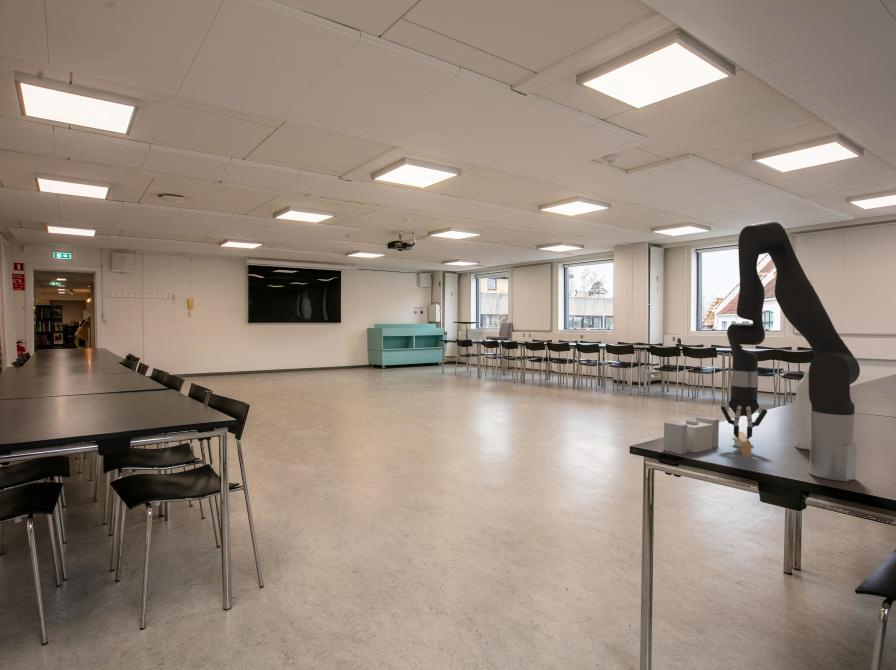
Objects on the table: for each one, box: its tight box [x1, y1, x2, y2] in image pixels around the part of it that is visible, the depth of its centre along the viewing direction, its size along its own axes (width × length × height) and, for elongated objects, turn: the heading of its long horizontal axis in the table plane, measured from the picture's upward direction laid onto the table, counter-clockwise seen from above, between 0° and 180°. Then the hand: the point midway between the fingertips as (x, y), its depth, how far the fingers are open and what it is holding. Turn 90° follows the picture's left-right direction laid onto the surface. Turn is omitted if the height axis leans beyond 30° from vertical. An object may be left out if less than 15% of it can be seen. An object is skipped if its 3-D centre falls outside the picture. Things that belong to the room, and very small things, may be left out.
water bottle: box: [793, 372, 811, 451], centre depth 169 cm, size 9×6×25 cm
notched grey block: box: [663, 416, 720, 455], centre depth 166 cm, size 8×21×9 cm, turn 123°
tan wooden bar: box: [731, 431, 754, 458], centre depth 166 cm, size 5×20×4 cm, turn 157°
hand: (742, 437), depth 166 cm, fingers closed on tan wooden bar, 2 cm apart
